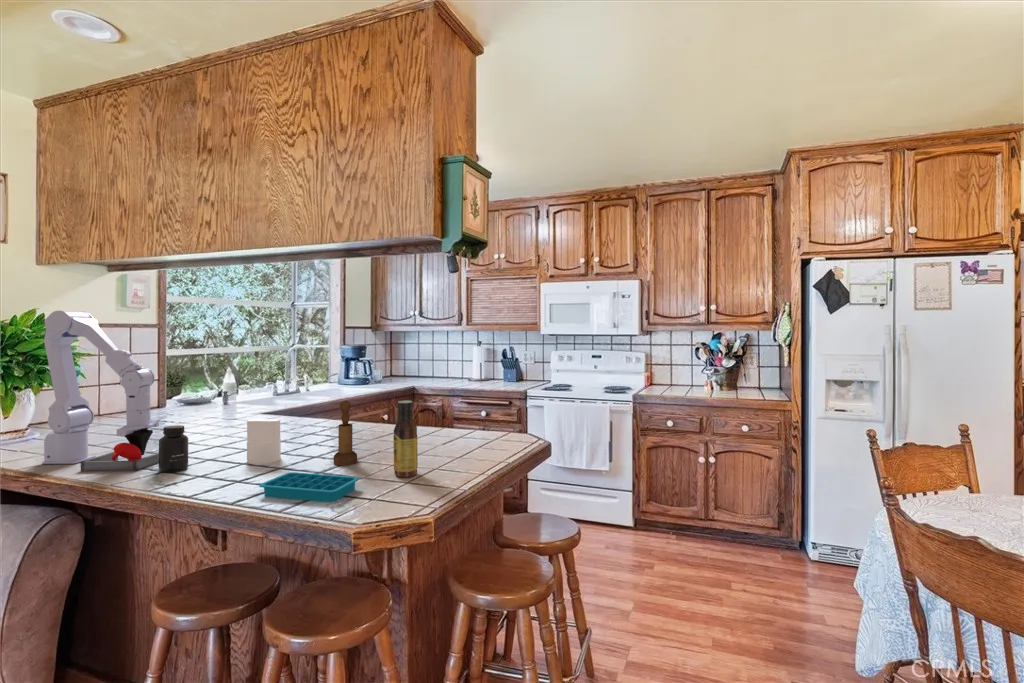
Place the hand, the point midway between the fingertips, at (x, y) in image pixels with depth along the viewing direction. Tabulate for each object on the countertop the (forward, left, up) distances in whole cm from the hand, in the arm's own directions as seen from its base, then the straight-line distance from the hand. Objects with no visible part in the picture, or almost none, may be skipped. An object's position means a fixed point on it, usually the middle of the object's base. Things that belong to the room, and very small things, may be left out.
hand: (139, 455), depth 148 cm
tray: (0, -5, -1) cm, 5 cm away
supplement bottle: (+17, -11, -2) cm, 20 cm away
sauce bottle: (+82, -17, -2) cm, 84 cm away
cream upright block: (+37, -1, -2) cm, 37 cm away
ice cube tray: (+62, -31, -2) cm, 69 cm away
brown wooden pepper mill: (+62, -4, -2) cm, 62 cm away
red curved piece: (-1, -4, -2) cm, 4 cm away
